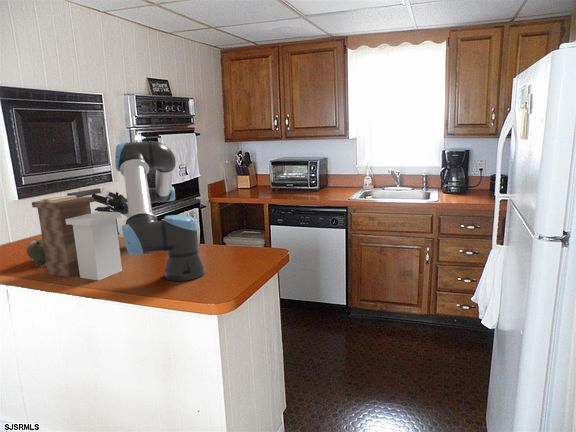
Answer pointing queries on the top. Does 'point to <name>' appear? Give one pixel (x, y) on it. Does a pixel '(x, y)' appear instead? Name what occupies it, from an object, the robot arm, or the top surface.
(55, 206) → the plinth
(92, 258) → the white tapered pedestal
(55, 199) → the turner
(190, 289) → the top surface
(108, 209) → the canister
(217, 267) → the top surface
